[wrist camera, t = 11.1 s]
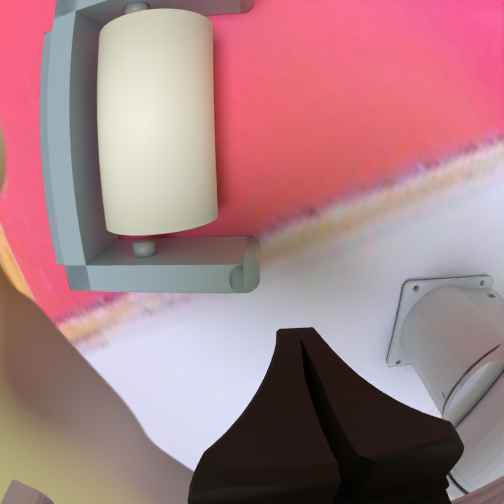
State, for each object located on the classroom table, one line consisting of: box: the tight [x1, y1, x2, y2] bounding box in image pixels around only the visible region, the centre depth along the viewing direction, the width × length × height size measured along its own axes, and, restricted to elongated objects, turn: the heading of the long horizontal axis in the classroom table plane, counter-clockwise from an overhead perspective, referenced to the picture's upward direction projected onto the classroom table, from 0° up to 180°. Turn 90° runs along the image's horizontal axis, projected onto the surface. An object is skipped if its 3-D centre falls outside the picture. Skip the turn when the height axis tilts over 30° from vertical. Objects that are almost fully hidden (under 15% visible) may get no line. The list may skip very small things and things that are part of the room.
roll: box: [97, 9, 218, 235], centre depth 15 cm, size 12×6×6 cm, turn 1°
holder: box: [40, 0, 260, 293], centre depth 16 cm, size 15×18×5 cm
